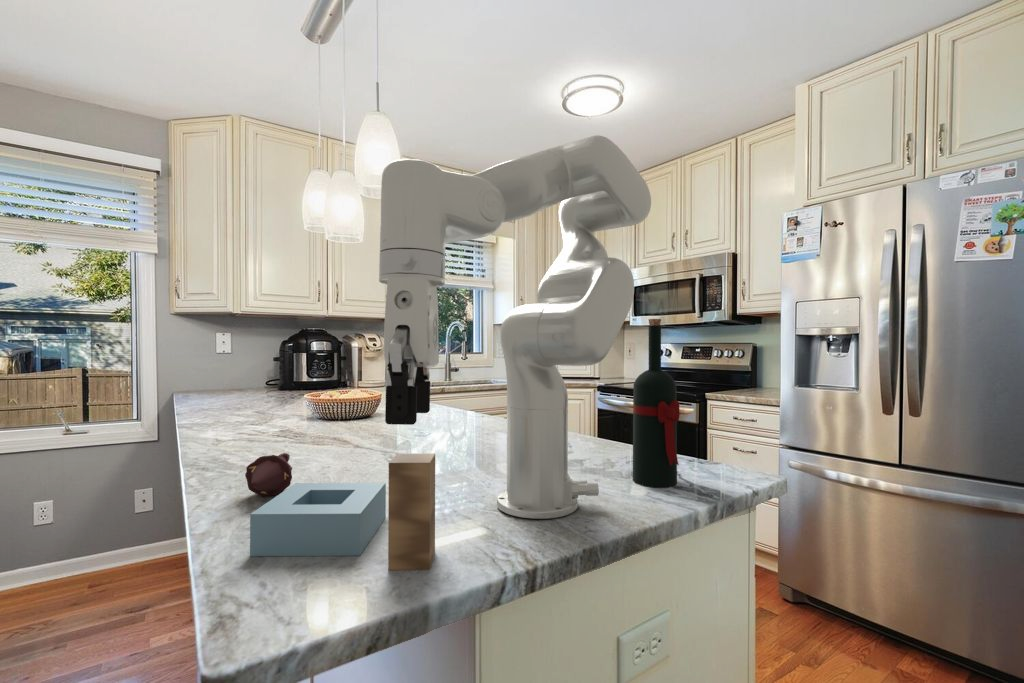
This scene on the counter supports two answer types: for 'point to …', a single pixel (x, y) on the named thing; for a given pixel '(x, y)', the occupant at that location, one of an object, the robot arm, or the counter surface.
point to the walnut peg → (411, 512)
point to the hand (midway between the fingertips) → (409, 417)
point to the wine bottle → (655, 420)
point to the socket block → (318, 520)
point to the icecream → (269, 475)
